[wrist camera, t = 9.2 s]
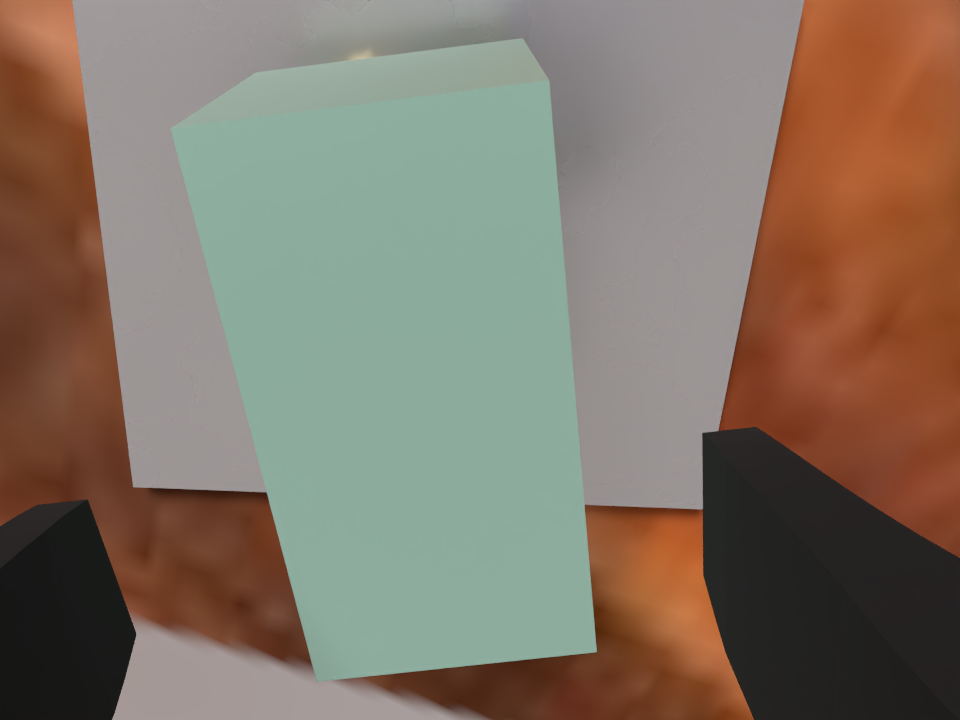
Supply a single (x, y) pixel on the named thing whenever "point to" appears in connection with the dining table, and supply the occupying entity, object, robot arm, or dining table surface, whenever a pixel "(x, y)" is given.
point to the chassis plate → (582, 197)
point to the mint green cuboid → (403, 350)
